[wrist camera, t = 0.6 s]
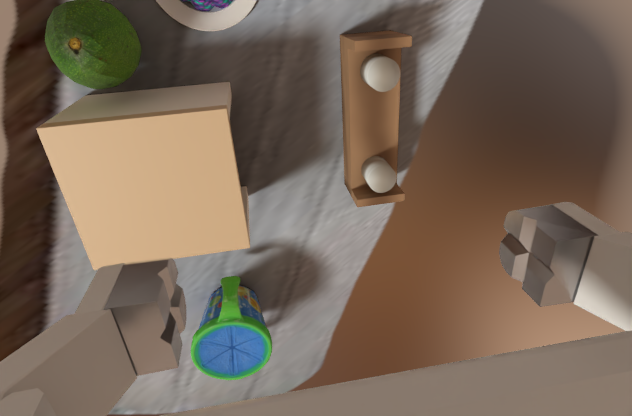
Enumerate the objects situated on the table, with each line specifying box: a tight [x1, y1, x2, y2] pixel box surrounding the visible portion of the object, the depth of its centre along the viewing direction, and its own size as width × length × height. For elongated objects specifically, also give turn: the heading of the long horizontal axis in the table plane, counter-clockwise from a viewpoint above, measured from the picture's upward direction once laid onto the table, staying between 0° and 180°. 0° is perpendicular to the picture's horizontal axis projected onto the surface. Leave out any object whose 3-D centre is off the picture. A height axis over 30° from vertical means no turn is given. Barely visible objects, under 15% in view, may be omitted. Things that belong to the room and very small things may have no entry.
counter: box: [36, 82, 250, 270], centre depth 44 cm, size 15×16×12 cm
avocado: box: [45, 0, 141, 89], centre depth 38 cm, size 8×8×12 cm
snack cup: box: [191, 276, 272, 380], centre depth 58 cm, size 16×10×10 cm
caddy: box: [340, 30, 412, 207], centre depth 48 cm, size 6×19×8 cm, turn 3°
